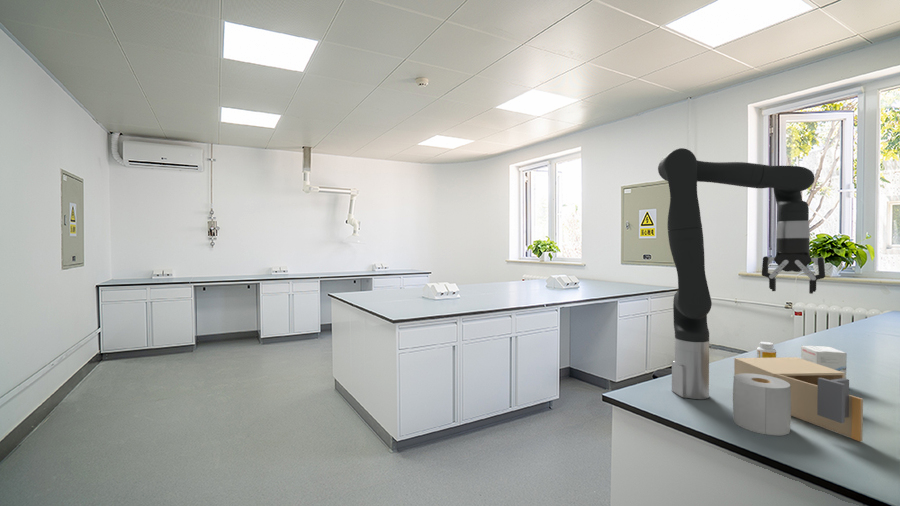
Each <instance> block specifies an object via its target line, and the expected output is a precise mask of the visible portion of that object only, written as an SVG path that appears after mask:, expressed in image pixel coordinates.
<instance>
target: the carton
mask: <svg viewBox="0 0 900 506" xmlns="http://www.w3.org/2000/svg"><path fill="white" fill-rule="evenodd" d="M733 360H734V364H733V365H734V374H733V376H734V375H736V374H744V373H748V374H760V375H766V376H771V377H774V374H775V373H776V374H779V375H783V376H786V377H790V378H793V379H797V380H800V381H803V382H807V383H810V384H814V385H817V386H818V378H824V379H828V380H834V379H841V378H845V373H843V372H840V371H837V370H834V369H831V368H828V367H825V366H822V365H819V364H816V363H813V362H810V361H807V360H804V359H801V357H797V356H796V357H795V356H794V357H792V356H790V357H786V356H785V357H776V358H757V357H734V359H733Z"/></svg>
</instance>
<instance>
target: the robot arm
mask: <svg viewBox="0 0 900 506" xmlns="http://www.w3.org/2000/svg"><path fill="white" fill-rule="evenodd" d="M657 171H658V175H659V176H660V178H662V180H664V181H666V182H667V183H668V188H669V197H670V198H669V199H670V200H669V207H668V215H667V234H668V235H667V237H668V244H669V249H670V252H671V253H670V254H671V256H672V259H673V262H674V266H675V269H676V272H677V274H676V275H677V287H678V288H677V289H678V290H676V292H675V294H674V295H673V300H672V301H673V305H672V306H673V307H672V308H673V313H672V314H673V329H674V330H673V331H674V360H672V361H671V392H674V393H675V394H676V395H677V396H679V397H681V398H685V399H687V398H688V399H693V400H706V399H708V398H709V397H710V329H709V327H708V314H709V313H710V311H711V308H712V297H711V293H710V290H709V285H708V281H707V275H706V268H705V244H704V233H703V224H702V217H701V210H700V203H699V197H698V182H699V183H714V184H715V183H716V184H722V185H729V186H737V187H742V188H743V187H745V188H752V189H773V194H774V198H775V202H776V205H777V223H776V224H777V225H776V235H775V237H776V241H775V243H776V245H775V247H776V251H775V256H774V257H772V256H767V255H766V256H763V258H762V265H761V276H763V277H766V278H768V283H769V284H768V288H769V290H771V292H776V290H777V278H776V277H777V276H778V275H779V274H780V273H781V272H782V271H784V272H794V273H799V272H802V273H804V274H805V275H806V276H807V277H808V278H809V280H808V281H809V282H808V283H809V289H808V293H809V294H811V295H813V294H814V292H817V281H819V280H822V279H824V278H825V277H826V269H825V258H824V257H822V256H819V257H811V256H810V246H811V245H810V243H811V242H810V241H811V240H810V238H811V233H810V232H811V231H810V223H809V221H810V220H809V218H810V217H809V213H810V212H809V211H810V210H809V209H810V208H809V203H808V202H806V201H805V200H804V199H803V196H802V192H804V191H806V190H808V189H809V188H811V186H812V185H813V184H814V182H815V179H816V178H815V177H816V176H815V174H814V172H813V171H812V170H811V169H809V168H807V167H804V166H799V165H769V164H762V163H754V162H753V163H752V162H743V161H739V162H738V161H737V162H736V161H728V162H725V161H723V162H721V161H719V162H718V161H717V162H714V161H713V162H712V161H704V160H697V158H696V156H695V154H694V153H693V152H692V151H691V150H689V149H688V148H685V147H684V148H683V147H682V148H681V147H680V148H676V149H673V150H672V151H670V152H668V153H667V154H666V155H665V156H664V157H663V158H662V159H661V160H660V161H659V164H658V167H657ZM773 261H774V262H775V263H776V264H777V267H776V268H775V269H774V270H773V271H772V272H771V273H770V272H769V267H770V266H769V265H771V264H772V263H773ZM812 262H813V264H814V265H816V266H817V270H818V274H814V272H813V271H812V270H811V269H810V268H809V267H808V265H810V263H812Z"/></svg>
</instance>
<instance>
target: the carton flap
mask: <svg viewBox="0 0 900 506" xmlns="http://www.w3.org/2000/svg"><path fill="white" fill-rule="evenodd" d="M774 377H775V378H779V379H782V380H784V381H786V382H788V383H789V384H790V388H791V417H794V418H796V419H799V420H802V421H804V422H807V423H810V424H812V425H816V426H818V427H821V428H822V429H823V428H824V429H826V430H829V431H832V432H834V433H837V434H840V435H842V436H845V437H848V438H851V440H855V441H858V442H863V435H864V434H863V430H864V429H863V427H864V422H863V421H864V399H863V398H861V397H858V396H855V395H851V394H850V379H849V378H848V379H847V378H846V379H845V378H841V379H834V380H828V379H824V378H818V386H817V385H814V384H810V383H807V382H803V381H800V380H797V379H793V378H790V377H786V376H783V375H779V374H776V373H775V374H774Z"/></svg>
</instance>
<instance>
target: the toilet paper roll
mask: <svg viewBox="0 0 900 506" xmlns="http://www.w3.org/2000/svg"><path fill="white" fill-rule="evenodd" d="M732 383H733V385H732V415H733V422H734V423H735V424H736V425H737V426H739V427H740V428H741V429H744V430H747V431H749V432H754V433H757V434H760V435H766V436H767V435H768V436H777V437H778V436H779V437H780V436H786V435H788V434H789V433H790V432H791V422H792V416H791V388H790V384H789V383H788V382H786V381H784V380H782V379H779V378H775V377H771V376H766V375H760V374H748V373H744V374H736V375H734V374H733V382H732Z"/></svg>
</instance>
